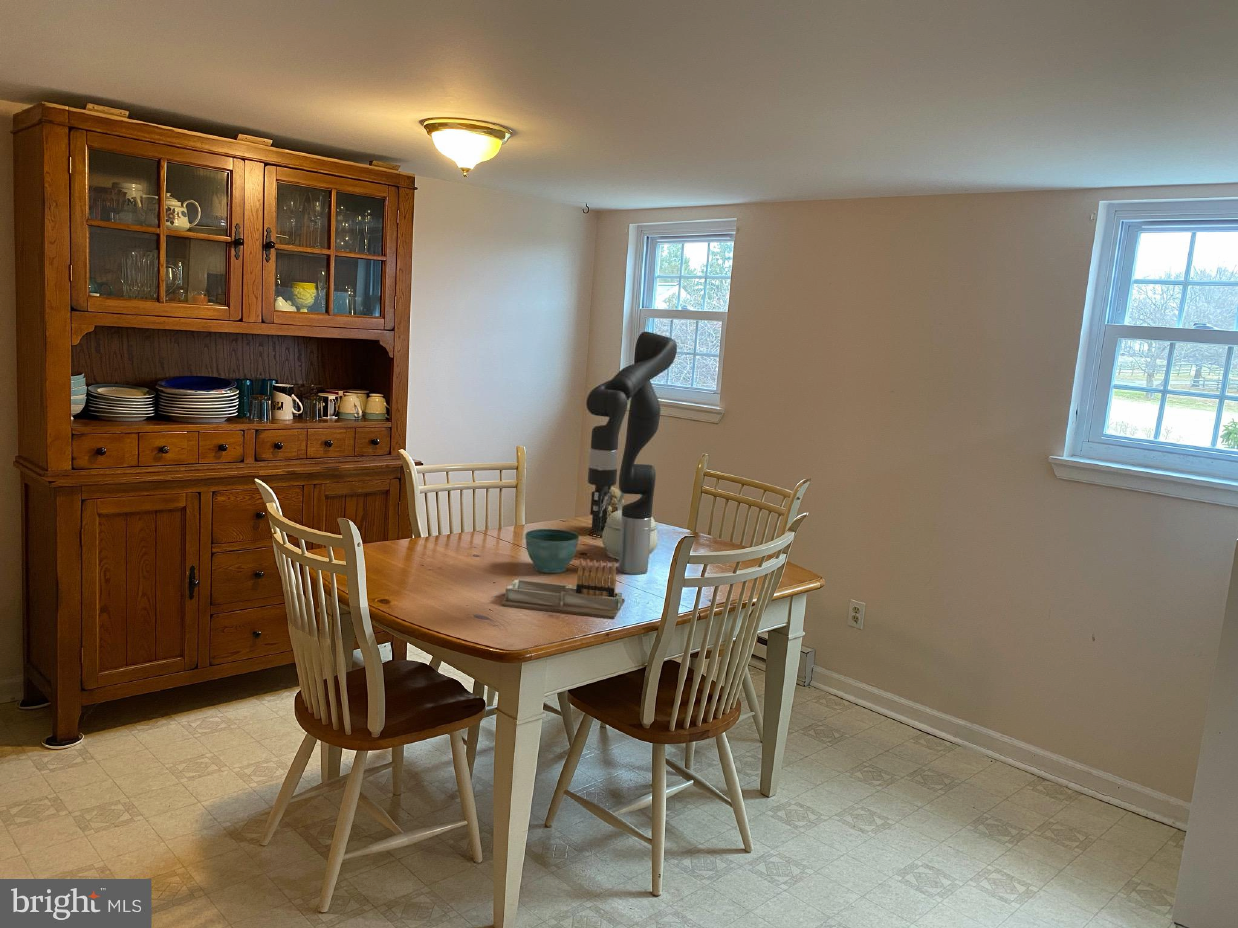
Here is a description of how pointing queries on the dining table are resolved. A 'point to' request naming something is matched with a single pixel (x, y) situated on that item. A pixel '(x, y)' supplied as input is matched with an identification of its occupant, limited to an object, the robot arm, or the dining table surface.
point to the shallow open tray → (560, 599)
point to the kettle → (614, 528)
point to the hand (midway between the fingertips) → (599, 526)
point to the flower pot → (551, 549)
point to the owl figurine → (612, 508)
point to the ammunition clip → (596, 580)
